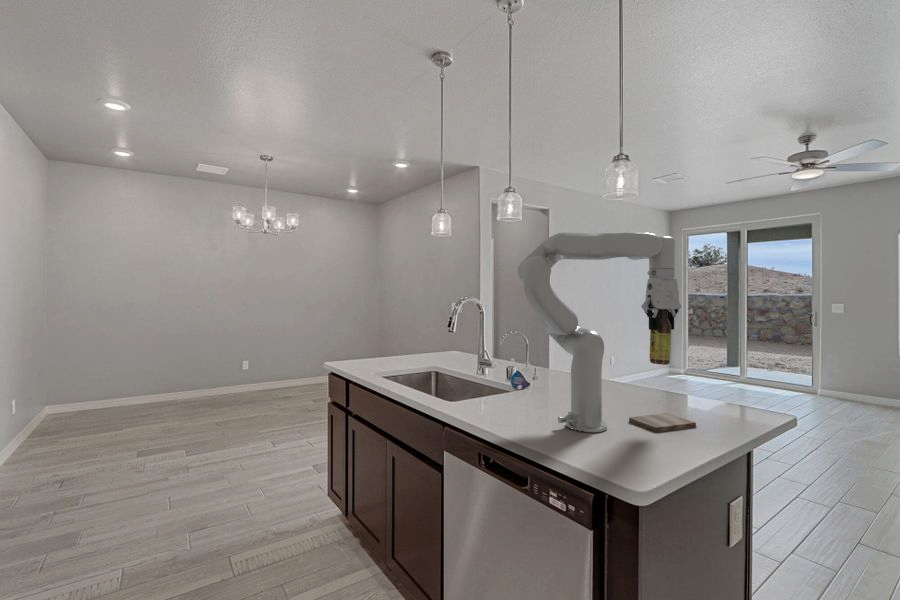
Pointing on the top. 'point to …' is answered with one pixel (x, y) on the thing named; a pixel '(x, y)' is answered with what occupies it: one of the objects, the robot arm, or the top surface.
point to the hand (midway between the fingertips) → (661, 329)
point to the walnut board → (662, 422)
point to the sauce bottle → (661, 339)
